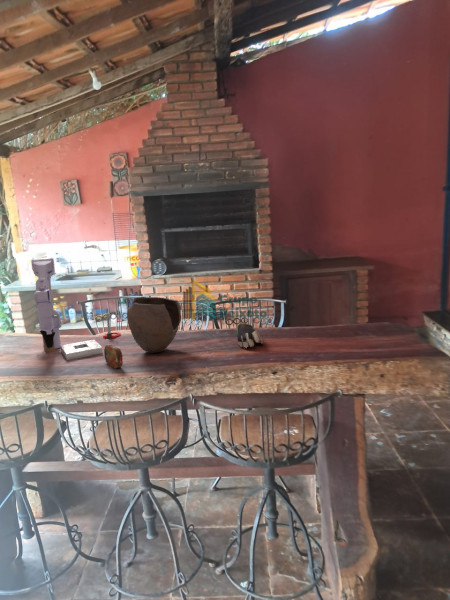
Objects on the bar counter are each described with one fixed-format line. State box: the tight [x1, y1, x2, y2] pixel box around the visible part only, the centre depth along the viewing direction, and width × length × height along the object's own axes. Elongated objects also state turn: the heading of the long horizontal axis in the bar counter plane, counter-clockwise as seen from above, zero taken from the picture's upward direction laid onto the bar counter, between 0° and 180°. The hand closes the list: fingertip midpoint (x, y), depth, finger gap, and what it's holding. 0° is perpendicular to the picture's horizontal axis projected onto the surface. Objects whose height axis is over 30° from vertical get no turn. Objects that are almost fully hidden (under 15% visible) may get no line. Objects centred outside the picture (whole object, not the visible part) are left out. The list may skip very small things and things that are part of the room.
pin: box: [42, 336, 56, 355], centre depth 203 cm, size 4×4×8 cm
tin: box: [103, 344, 124, 369], centre depth 191 cm, size 15×3×8 cm, turn 35°
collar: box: [60, 339, 104, 361], centre depth 212 cm, size 16×16×3 cm
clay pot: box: [126, 296, 182, 354], centre depth 206 cm, size 24×24×25 cm
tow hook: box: [102, 313, 122, 339], centre depth 238 cm, size 8×13×9 cm
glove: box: [236, 322, 264, 348], centre depth 214 cm, size 12×10×25 cm
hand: (49, 346), depth 203 cm, fingers closed on pin, 4 cm apart
